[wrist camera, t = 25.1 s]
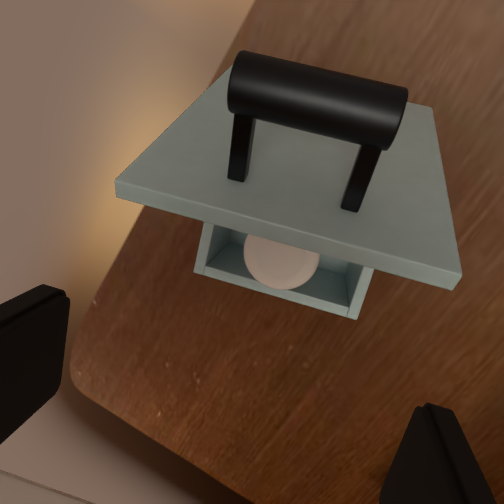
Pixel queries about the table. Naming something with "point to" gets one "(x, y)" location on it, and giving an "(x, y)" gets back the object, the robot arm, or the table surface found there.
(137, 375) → the table surface
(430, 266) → the lid
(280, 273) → the sprinkles bottle
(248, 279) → the light blue open box
